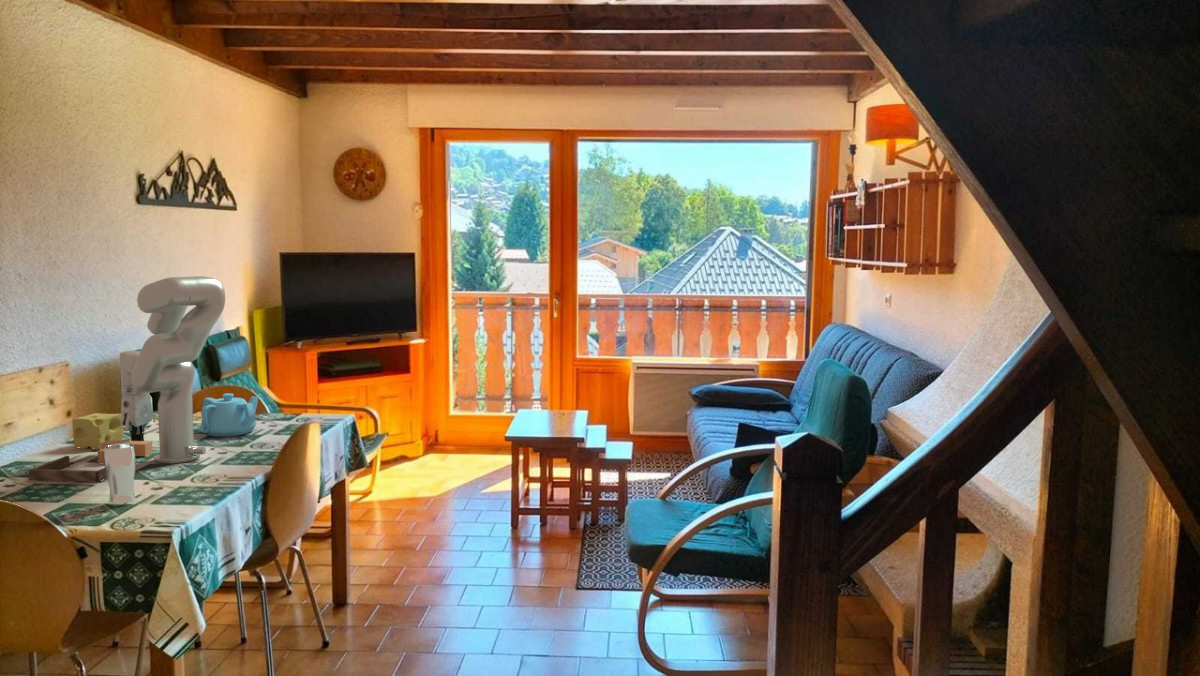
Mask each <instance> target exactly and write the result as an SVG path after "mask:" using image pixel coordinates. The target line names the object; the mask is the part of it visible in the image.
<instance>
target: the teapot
mask: <svg viewBox="0 0 1200 676" xmlns="http://www.w3.org/2000/svg"><path fill="white" fill-rule="evenodd" d="M258 403H259V396H254V395H253V396H251V397H250V399H249V401H248V402H247V401H246V399H244V398H242V397H234V393H224V394H222V398H221V397H220V398H213V397H210V396H209V397H205V398H204V399H203V403H202V407H201V412H200V415H201V422H200V426H199V431H200V432H201V433H203V434H205V435H207V436H209V437H215V438H229V437H237V436H244V435H247V434H249V432H250V433H251V432H252V431H253V430H254V429H255V428H256V426H257V417H256V410H257V407H258Z"/></svg>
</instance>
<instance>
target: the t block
mask: <svg viewBox="0 0 1200 676" xmlns="http://www.w3.org/2000/svg"><path fill="white" fill-rule="evenodd" d="M119 443H131V444H134V450H135V456H146V455H149V454H151V453H154V449H153V447H154V446H153V441H151V440H150V441H149V440H144V441H131V440H122V441H114V440H109V441H106V442H103V443H101V450H97V464H98V463H104V454H105V447H106V446H108V445H112V444H119ZM151 455H152V454H151ZM149 456H150V455H149ZM146 457H147V456H146Z"/></svg>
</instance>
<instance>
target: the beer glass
mask: <svg viewBox="0 0 1200 676" xmlns="http://www.w3.org/2000/svg"><path fill="white" fill-rule="evenodd" d="M136 460H137V459H136V457H135V450H134V444H131V443H119V444H112V445H108V446H106V447H105V454H104V464H103V465H104V468H105V472H106V476H107V479H106V480H107V483H108V487H109V498H108V499H109V500H108V504H109V503H110V504H114V505H115V504H124V503H127V502H131V501H133V500H135V499H136V496H135V491H134V482H135V476H136V467H137V461H136Z"/></svg>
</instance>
